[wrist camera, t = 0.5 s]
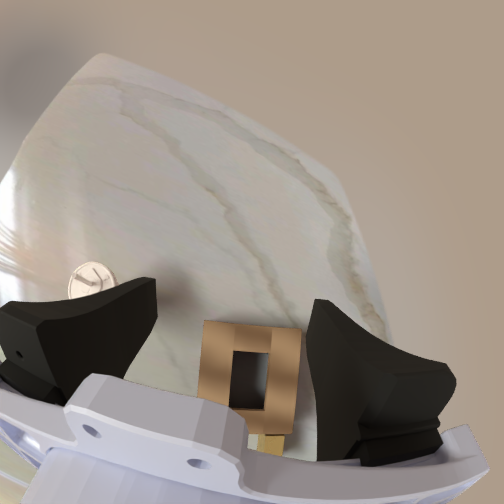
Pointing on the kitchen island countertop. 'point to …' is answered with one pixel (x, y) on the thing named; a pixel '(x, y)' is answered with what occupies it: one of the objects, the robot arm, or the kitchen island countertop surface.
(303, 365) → the kitchen island countertop surface
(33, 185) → the kitchen island countertop surface
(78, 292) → the smoothie
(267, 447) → the block
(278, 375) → the brown rectangular hollow block
